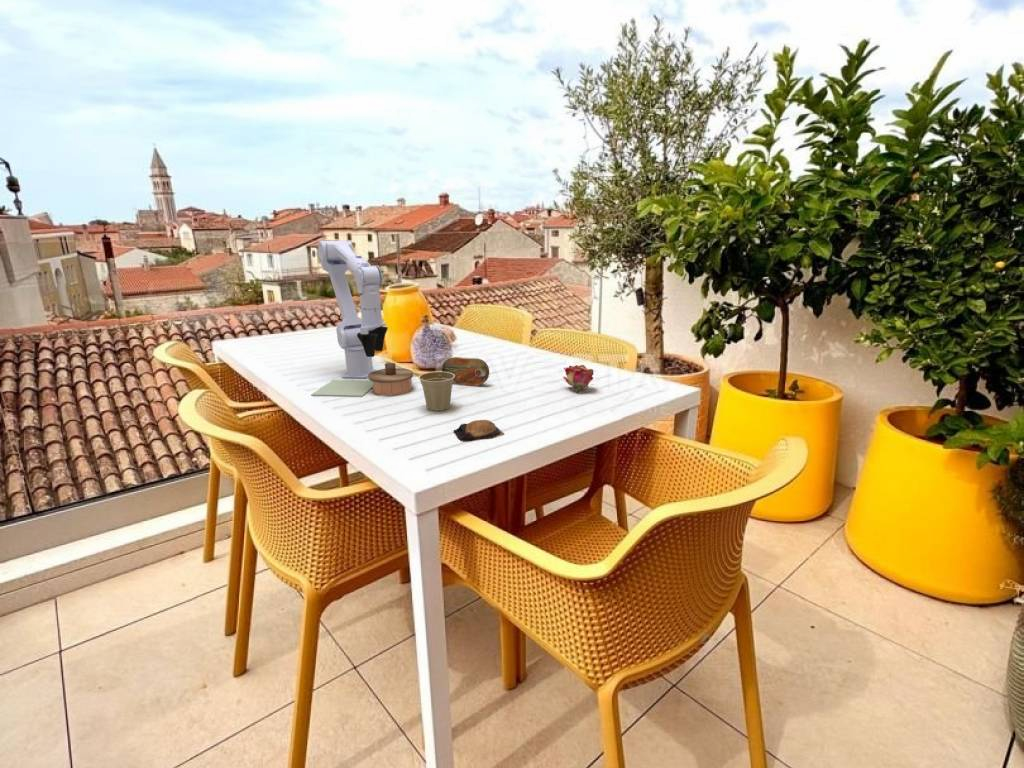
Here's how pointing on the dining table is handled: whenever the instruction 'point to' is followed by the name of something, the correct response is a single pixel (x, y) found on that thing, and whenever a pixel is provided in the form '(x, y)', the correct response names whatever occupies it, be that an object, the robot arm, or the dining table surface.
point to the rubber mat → (345, 388)
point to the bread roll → (477, 431)
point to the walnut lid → (390, 374)
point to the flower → (578, 376)
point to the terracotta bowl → (392, 387)
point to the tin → (467, 370)
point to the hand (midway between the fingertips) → (374, 353)
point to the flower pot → (437, 389)
